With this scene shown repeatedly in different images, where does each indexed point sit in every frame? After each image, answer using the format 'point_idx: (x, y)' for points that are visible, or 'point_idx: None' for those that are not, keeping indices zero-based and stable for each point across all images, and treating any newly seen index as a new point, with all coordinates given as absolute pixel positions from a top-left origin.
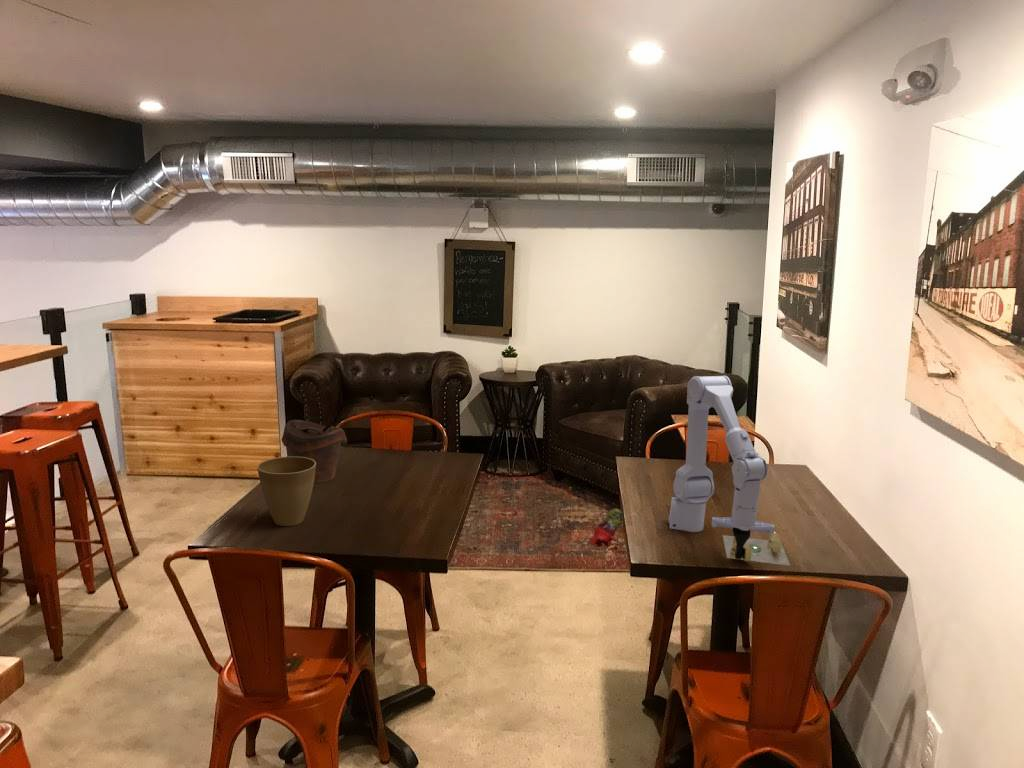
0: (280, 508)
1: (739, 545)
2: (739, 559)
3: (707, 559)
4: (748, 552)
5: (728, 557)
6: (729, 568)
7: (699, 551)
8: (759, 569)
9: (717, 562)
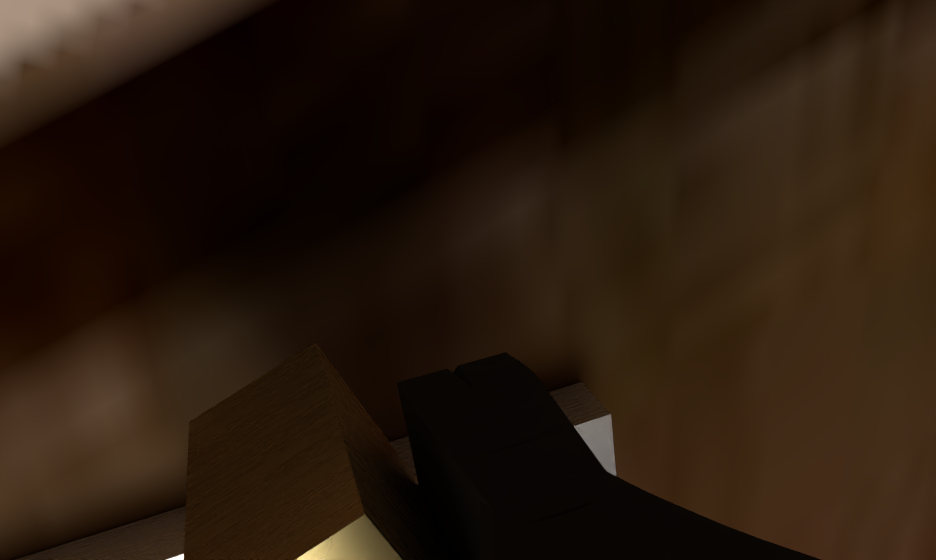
0: None
1: (606, 525)
2: (415, 474)
3: (823, 302)
4: (271, 510)
5: (589, 437)
6: (529, 151)
7: (886, 474)
8: (12, 399)
9: (703, 279)
